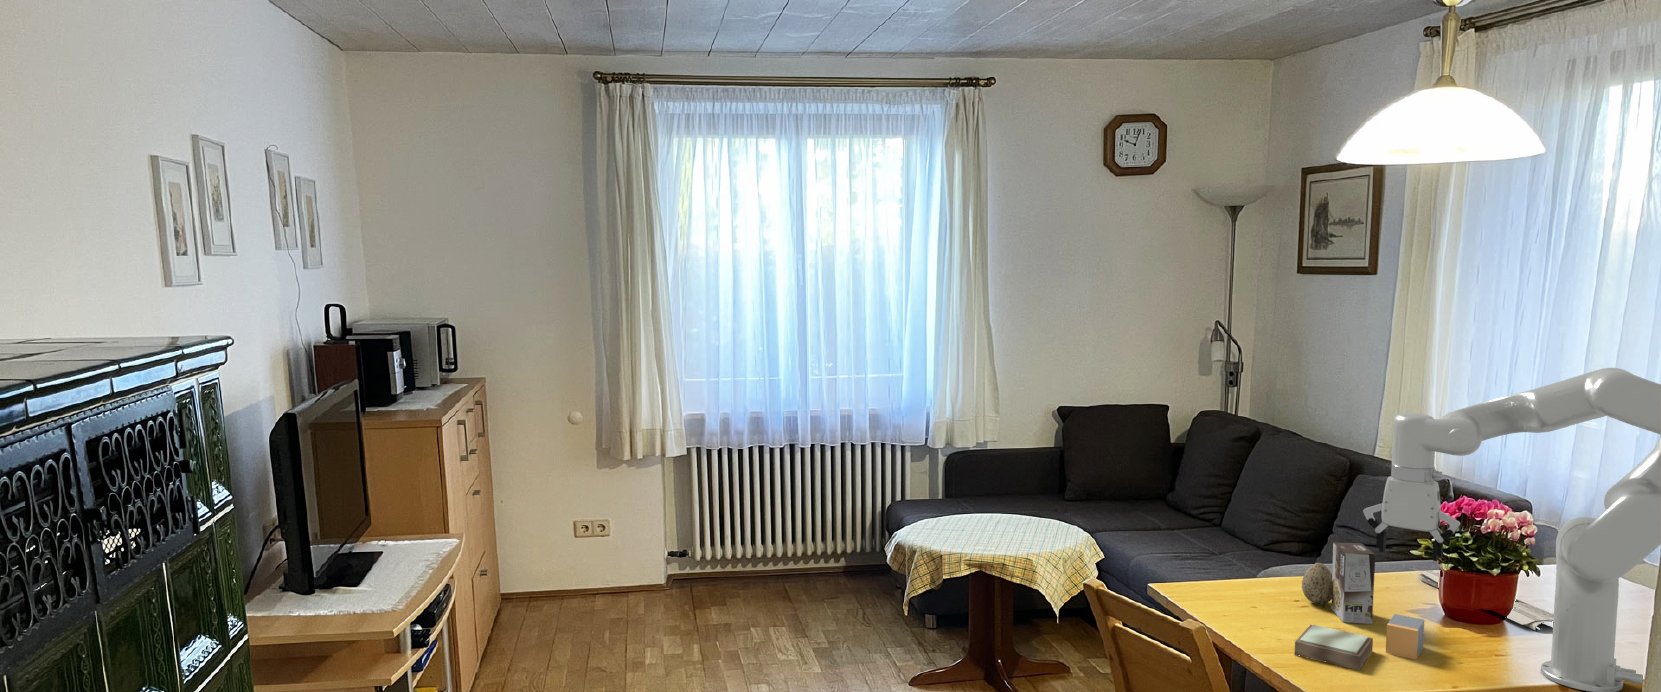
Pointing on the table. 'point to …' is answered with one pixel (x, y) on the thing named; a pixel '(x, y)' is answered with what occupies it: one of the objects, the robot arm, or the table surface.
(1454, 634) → the table surface
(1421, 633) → the block
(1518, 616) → the newspaper
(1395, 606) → the table surface
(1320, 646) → the stand
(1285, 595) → the table surface
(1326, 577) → the decorative egg
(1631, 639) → the table surface
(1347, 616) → the coffee box
